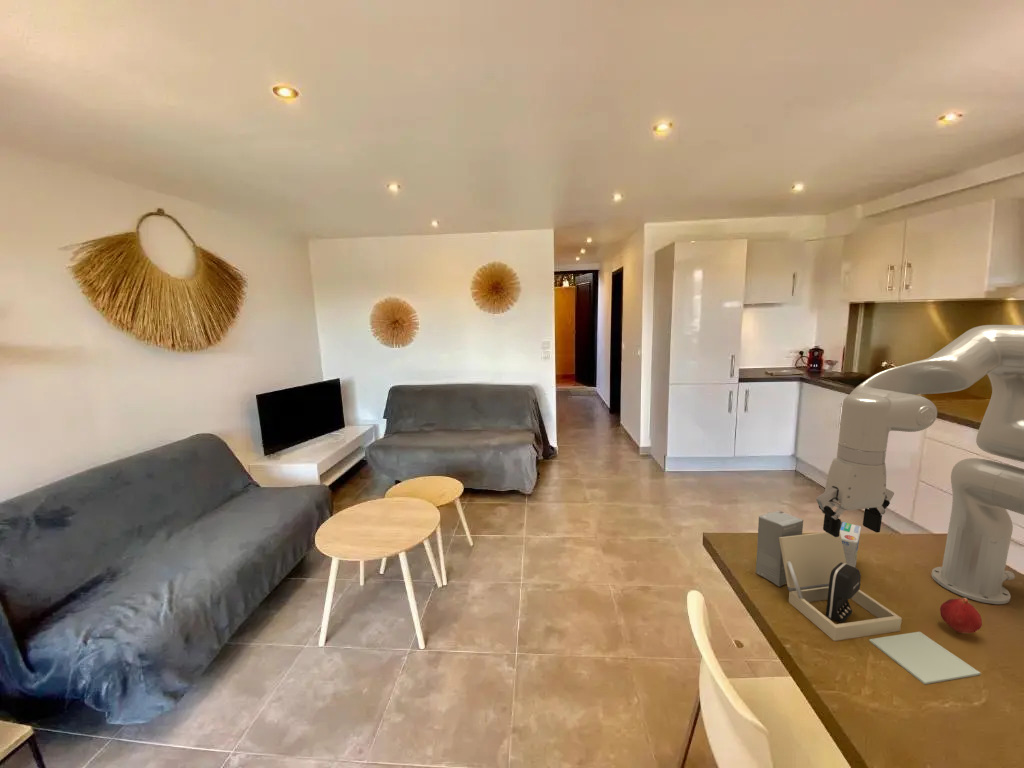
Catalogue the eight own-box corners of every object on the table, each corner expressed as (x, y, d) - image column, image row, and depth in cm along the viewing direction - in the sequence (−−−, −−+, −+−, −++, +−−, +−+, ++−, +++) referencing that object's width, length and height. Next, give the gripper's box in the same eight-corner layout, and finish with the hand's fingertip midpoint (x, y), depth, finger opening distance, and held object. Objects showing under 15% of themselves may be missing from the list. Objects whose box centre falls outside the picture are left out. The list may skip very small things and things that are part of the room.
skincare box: (779, 588, 99) (785, 528, 96) (752, 571, 105) (756, 514, 103) (801, 578, 102) (807, 520, 100) (773, 563, 109) (778, 507, 106)
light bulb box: (825, 553, 112) (829, 517, 111) (857, 563, 108) (861, 525, 106) (819, 571, 105) (823, 533, 103) (852, 582, 100) (858, 542, 98)
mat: (919, 633, 84) (919, 631, 84) (980, 674, 75) (980, 672, 74) (869, 640, 83) (869, 639, 83) (924, 684, 73) (924, 682, 73)
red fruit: (931, 626, 86) (937, 592, 85) (945, 618, 88) (951, 585, 87) (970, 646, 81) (977, 611, 79) (984, 637, 83) (991, 602, 82)
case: (830, 582, 101) (836, 529, 98) (899, 630, 85) (909, 570, 83) (774, 589, 99) (778, 536, 96) (834, 640, 83) (841, 578, 81)
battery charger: (845, 628, 86) (851, 579, 84) (824, 617, 89) (829, 570, 87) (858, 614, 90) (864, 567, 88) (837, 604, 93) (842, 558, 91)
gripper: (878, 446, 88) (868, 519, 91) (807, 451, 86) (799, 526, 89) (917, 457, 81) (905, 536, 84) (840, 464, 79) (831, 545, 81)
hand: (851, 531), depth 86 cm, fingers open, 9 cm apart
